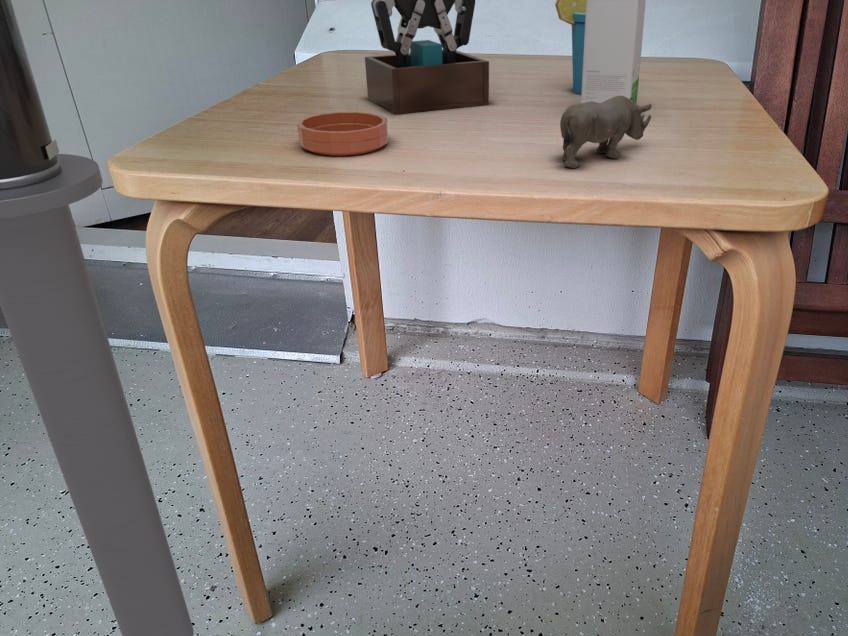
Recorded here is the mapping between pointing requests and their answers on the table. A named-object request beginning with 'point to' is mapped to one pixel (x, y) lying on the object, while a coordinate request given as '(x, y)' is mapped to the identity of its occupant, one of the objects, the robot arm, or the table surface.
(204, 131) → the table surface
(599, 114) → the rhino figurine
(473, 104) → the box
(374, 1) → the robot arm
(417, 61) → the tea packet
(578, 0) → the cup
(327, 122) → the bowl
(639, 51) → the cosmetic box
